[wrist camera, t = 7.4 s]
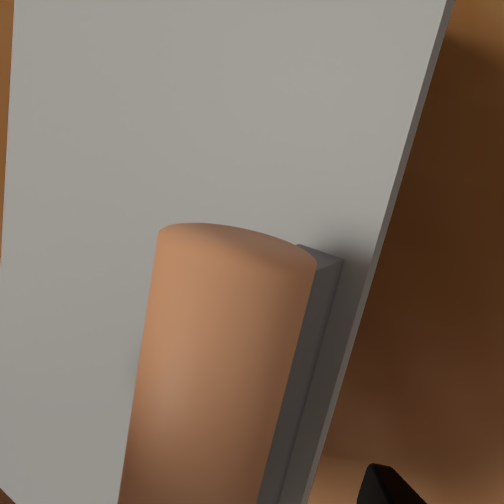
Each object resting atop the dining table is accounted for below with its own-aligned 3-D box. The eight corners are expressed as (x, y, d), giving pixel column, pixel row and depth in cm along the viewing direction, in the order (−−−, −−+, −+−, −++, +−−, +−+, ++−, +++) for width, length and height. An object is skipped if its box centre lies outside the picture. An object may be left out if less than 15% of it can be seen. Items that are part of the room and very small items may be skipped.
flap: (250, 710, 12) (114, 954, 8) (1, 470, 18) (-147, 549, 14) (508, -160, 7) (463, -596, 3) (38, -109, 13) (-187, -238, 9)
